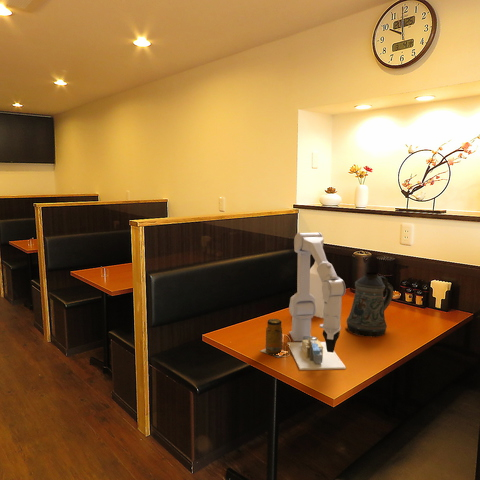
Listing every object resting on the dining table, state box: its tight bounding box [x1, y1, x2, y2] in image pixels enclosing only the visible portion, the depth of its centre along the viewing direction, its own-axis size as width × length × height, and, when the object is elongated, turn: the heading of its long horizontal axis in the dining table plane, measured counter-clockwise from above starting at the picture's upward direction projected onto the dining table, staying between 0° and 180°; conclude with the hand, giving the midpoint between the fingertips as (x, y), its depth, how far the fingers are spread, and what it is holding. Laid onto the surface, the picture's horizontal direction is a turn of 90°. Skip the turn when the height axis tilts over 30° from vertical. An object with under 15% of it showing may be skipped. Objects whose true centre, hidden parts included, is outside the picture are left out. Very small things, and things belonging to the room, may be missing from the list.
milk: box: [310, 260, 329, 319], centre depth 197 cm, size 12×12×26 cm
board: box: [287, 341, 347, 371], centre depth 151 cm, size 22×16×1 cm
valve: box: [301, 336, 323, 365], centre depth 150 cm, size 17×6×5 cm, turn 5°
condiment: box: [260, 318, 283, 358], centre depth 153 cm, size 7×8×12 cm
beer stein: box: [346, 272, 394, 338], centre depth 176 cm, size 16×19×25 cm
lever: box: [308, 335, 320, 355], centre depth 145 cm, size 13×3×1 cm, turn 177°
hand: (330, 351), depth 143 cm, fingers closed
